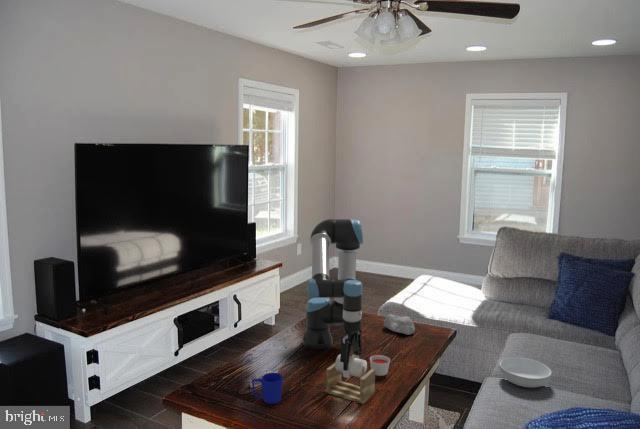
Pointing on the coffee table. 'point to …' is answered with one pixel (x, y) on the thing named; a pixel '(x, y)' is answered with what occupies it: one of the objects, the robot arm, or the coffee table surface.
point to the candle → (380, 364)
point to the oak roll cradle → (350, 386)
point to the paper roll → (353, 366)
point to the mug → (270, 387)
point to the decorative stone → (399, 324)
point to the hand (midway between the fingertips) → (350, 373)
